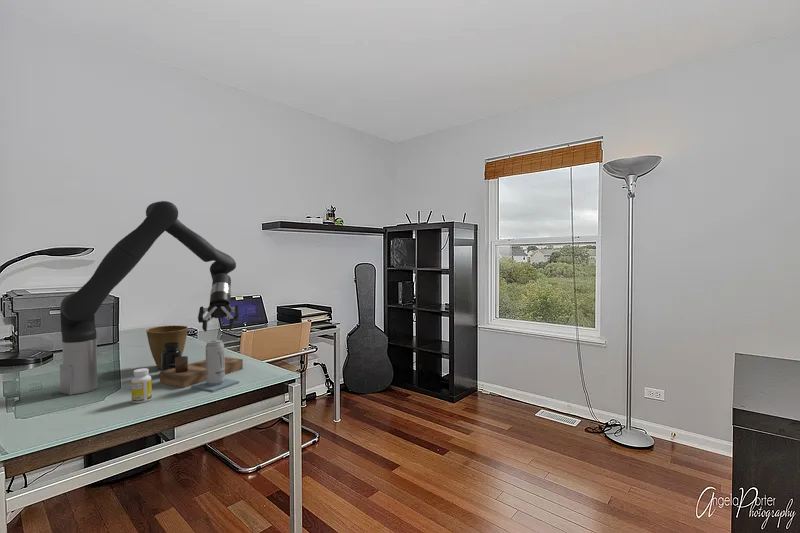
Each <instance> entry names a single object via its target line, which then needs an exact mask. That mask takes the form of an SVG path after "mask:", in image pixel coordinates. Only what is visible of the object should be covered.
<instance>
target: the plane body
mask: <svg viewBox="0 0 800 533" xmlns="http://www.w3.org/2000/svg"><path fill="white" fill-rule="evenodd" d="M188 358H189V356H188V355H182V356H180V357H176V358H175V368H172V369H168V370H165V371H161V370H160V371H159V384H164V385H169V386H172V385H173V387H177V386H178V387H179V388H182V387H183V388H182V389H184V387H185V388H188V387H190V386H192V385H195V384H198V383H200V382H205V381H206V359H204V360H200V361H196V362H192V363H189V362H188V361H189V359H188ZM243 363H244V362H243V359H242V358H236V357H231V356H230V357H229V356H224V364H225V374H226V375H229V374H232V373H235V372H238V371H241V369H242V370H243V369H244V368H243V365H244V364H243ZM237 370H238V371H237ZM234 371H235V372H234ZM231 372H232V373H231ZM228 373H229V374H228ZM187 386H188V387H187Z"/></svg>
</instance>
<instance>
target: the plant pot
mask: <svg viewBox="0 0 800 533" xmlns="http://www.w3.org/2000/svg"><path fill="white" fill-rule="evenodd" d="M188 329H189V327H188V326H185V325H161V326H155V327H154V326H153V327H152V328H148V329H146V336H147V341H148V345H149V350H150V352H151V355H152V359H153V360H154V363H155V365H156V367H157V369H159V370H161V354H162V352H163V351H164V350H165V349H164V344H165V343H171V342H177V343H179V348H178V349H179V350H181V356H183V353H184V350H185V346H186V342H187V336H188V331H189V330H188Z"/></svg>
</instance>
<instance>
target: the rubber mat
mask: <svg viewBox="0 0 800 533" xmlns="http://www.w3.org/2000/svg"><path fill="white" fill-rule="evenodd" d="M237 384H240V381H239V380H234V379H229V378H225V380H224V381H223V383H222V384H219V385H208V383H207V382H206V381H204V382H201V383H197V384H194V385H191V388H192V387H193V389H196V388H197V390H200V391H207V392H211V393H214V392H218V391H220V390H223V389H227V388H229V387H232V386H234V385H237ZM217 390H218V391H217Z"/></svg>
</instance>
